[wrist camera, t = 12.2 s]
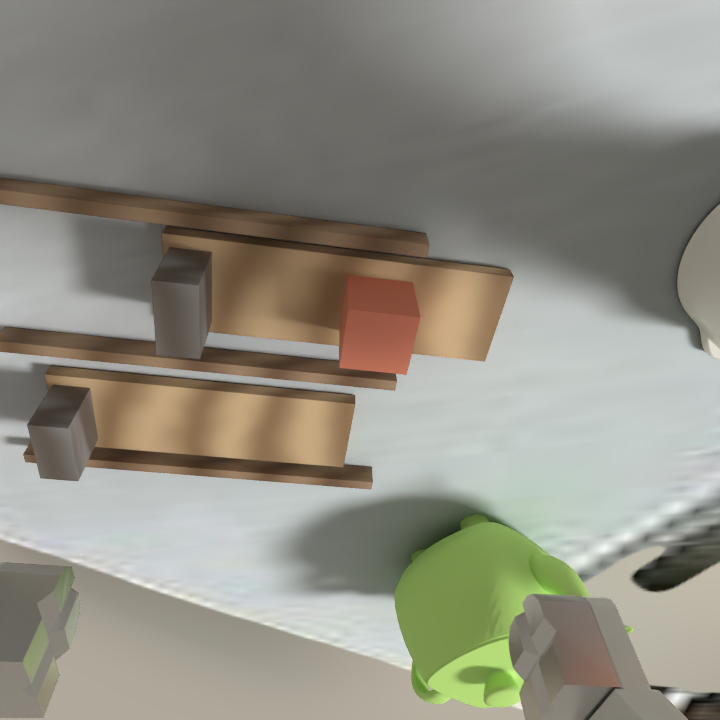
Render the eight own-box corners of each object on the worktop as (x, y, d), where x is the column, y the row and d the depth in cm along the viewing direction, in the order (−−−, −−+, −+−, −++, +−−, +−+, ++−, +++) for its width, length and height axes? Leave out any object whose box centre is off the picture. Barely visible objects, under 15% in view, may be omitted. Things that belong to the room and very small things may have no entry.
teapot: (478, 632, 77) (506, 771, 64) (357, 571, 68) (361, 718, 55) (643, 541, 66) (716, 686, 53) (524, 455, 57) (578, 604, 44)
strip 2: (509, 269, 45) (531, 311, 40) (481, 352, 49) (498, 399, 44) (165, 226, 42) (142, 265, 37) (170, 319, 47) (150, 365, 42)
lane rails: (425, 233, 43) (429, 245, 41) (370, 473, 58) (370, 489, 56) (-33, 173, 39) (-49, 183, 38) (34, 446, 54) (25, 462, 53)
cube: (412, 282, 44) (420, 317, 40) (400, 337, 47) (406, 374, 43) (347, 274, 43) (348, 309, 39) (339, 330, 46) (339, 367, 42)
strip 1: (354, 395, 52) (356, 444, 47) (343, 458, 56) (343, 508, 51) (50, 365, 49) (17, 414, 44) (64, 434, 54) (36, 485, 49)
